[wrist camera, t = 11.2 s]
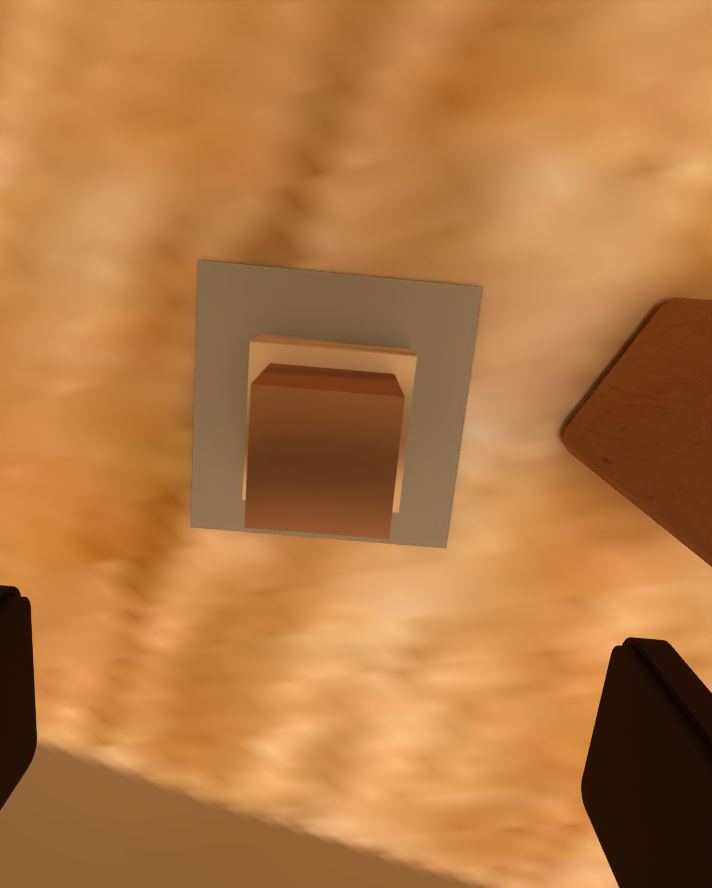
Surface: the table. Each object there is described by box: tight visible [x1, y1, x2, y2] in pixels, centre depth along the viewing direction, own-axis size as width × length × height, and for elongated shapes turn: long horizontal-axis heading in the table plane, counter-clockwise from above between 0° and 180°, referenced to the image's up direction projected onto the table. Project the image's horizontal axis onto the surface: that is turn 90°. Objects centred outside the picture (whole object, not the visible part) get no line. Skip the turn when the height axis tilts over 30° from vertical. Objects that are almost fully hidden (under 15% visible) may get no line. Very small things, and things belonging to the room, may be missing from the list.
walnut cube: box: [244, 363, 405, 539], centre depth 28 cm, size 6×6×6 cm
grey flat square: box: [191, 260, 483, 548], centre depth 35 cm, size 15×15×1 cm
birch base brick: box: [242, 334, 417, 513], centre depth 33 cm, size 8×8×4 cm
